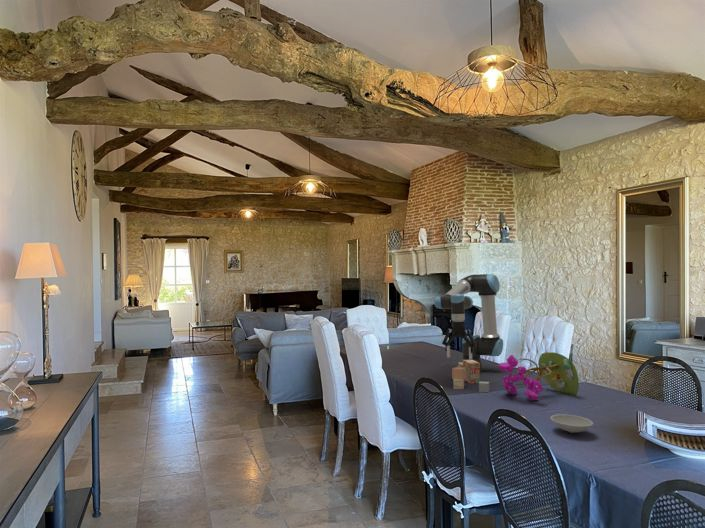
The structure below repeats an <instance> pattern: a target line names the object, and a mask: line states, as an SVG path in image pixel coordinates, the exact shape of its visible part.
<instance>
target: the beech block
mask: <svg viewBox="0 0 705 528" xmlns="http://www.w3.org/2000/svg"><path fill="white" fill-rule="evenodd" d="M452 381H453V383H452V384H453V389H454V390H464V388H465V380H464V379H463V380H456V379H452Z"/></svg>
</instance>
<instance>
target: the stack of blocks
mask: <svg viewBox="0 0 705 528" xmlns="http://www.w3.org/2000/svg"><path fill="white" fill-rule="evenodd" d="M462 360H463V359H462ZM456 367H463V368H466V379H464V382H466V381H467V382H466V383H468V384H470V385H471V384H473V385H474V383H475V384H479V382H480V381H481V375H480V374H481V371H480V363H478V362H477V361H474V360H463V362H462V361H461V362H457V366H456Z"/></svg>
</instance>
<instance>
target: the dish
mask: <svg viewBox="0 0 705 528" xmlns="http://www.w3.org/2000/svg"><path fill="white" fill-rule="evenodd" d="M550 420H551V422H553V423H554V424H555V425H556V426H557V427H558V428H559V429H561V430H563V431H566V432H569V434H570V433H571V434H575V433H583V432H585V431H587V430H589V429H590V427H592V426H593V425H594V422H593V420H590V419H589V418H586V417H583V416H579V415H574V414H573V415H572V414H564V413H563V414H562V413H560V414H559V413H558V414H553V415H551V416H550Z"/></svg>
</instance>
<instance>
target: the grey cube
mask: <svg viewBox="0 0 705 528" xmlns="http://www.w3.org/2000/svg"><path fill="white" fill-rule="evenodd" d="M478 387H479V388H478V390H479V391H478V392H479V393H484V392H488V393H487V394H489V393H490V381H481V380H480V382H479V383H478Z"/></svg>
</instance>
